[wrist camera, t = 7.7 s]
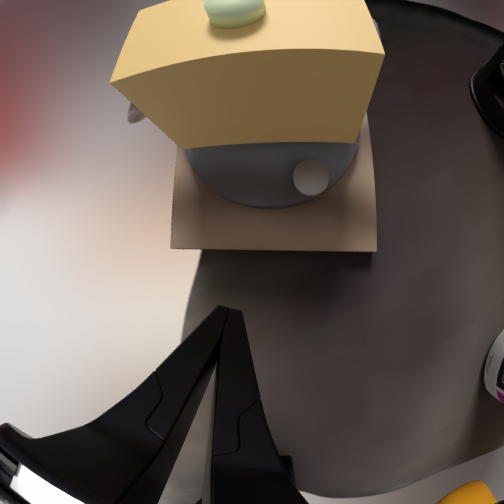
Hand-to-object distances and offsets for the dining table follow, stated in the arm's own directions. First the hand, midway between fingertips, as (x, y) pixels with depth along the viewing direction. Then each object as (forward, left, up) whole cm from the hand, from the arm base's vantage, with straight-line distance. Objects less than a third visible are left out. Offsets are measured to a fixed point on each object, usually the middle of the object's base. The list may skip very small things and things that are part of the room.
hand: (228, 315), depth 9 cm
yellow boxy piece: (+12, -2, -9) cm, 15 cm away
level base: (+12, -2, -13) cm, 18 cm away
